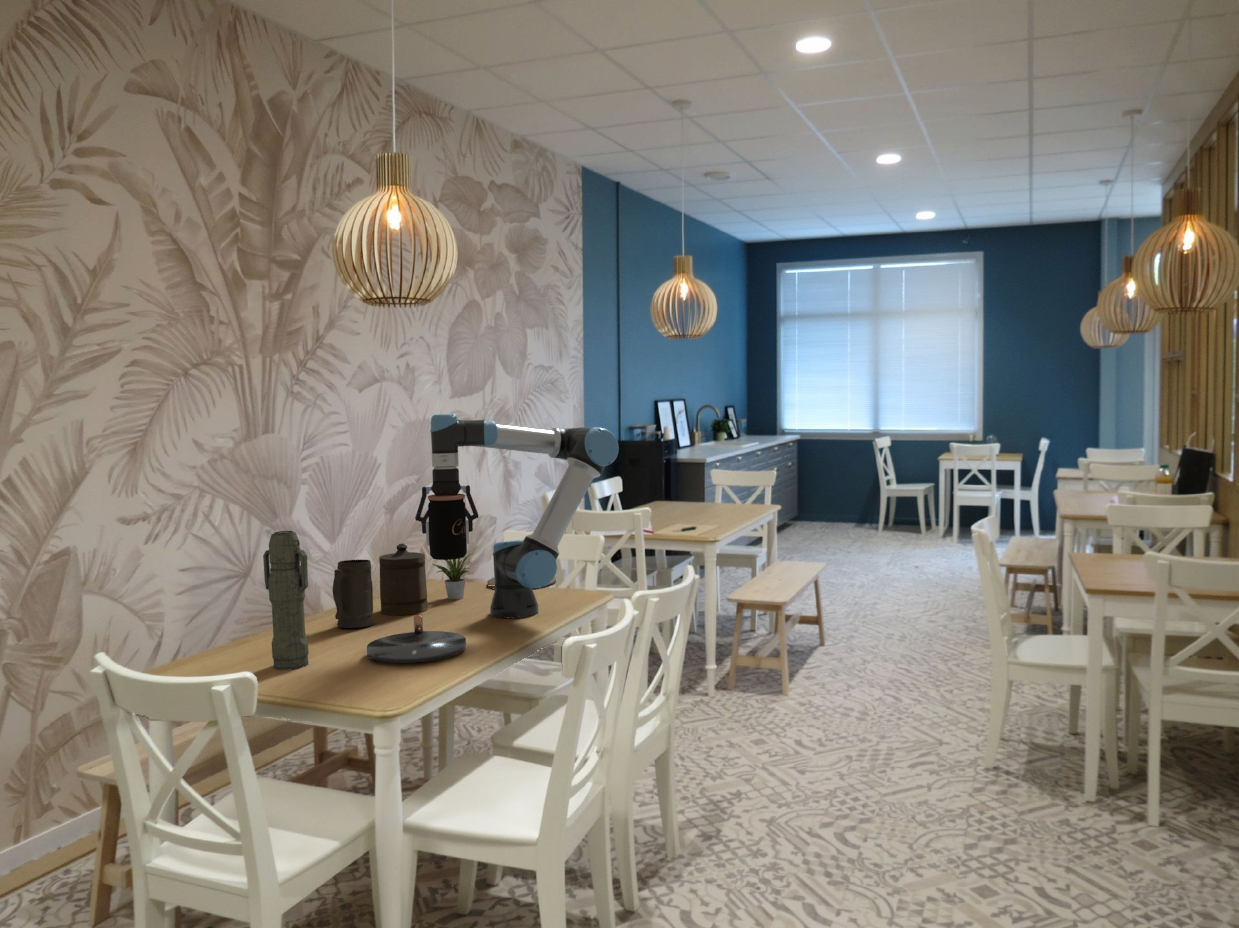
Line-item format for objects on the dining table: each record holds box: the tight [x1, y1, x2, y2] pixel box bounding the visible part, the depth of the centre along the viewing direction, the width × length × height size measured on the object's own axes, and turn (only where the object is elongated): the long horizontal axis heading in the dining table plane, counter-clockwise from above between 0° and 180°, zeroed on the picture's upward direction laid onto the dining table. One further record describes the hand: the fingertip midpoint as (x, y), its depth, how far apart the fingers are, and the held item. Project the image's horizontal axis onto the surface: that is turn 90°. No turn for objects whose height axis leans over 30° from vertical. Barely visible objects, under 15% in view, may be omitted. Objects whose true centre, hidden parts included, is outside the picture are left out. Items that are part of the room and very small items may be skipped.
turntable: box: [366, 613, 467, 664], centre depth 264 cm, size 26×26×7 cm
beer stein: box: [332, 559, 374, 629], centre depth 298 cm, size 15×11×20 cm
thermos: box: [262, 530, 309, 671], centre depth 255 cm, size 9×12×35 cm
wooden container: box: [378, 543, 428, 616], centre depth 319 cm, size 15×15×22 cm
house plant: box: [431, 552, 475, 601], centre depth 339 cm, size 14×14×16 cm
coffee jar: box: [427, 493, 468, 561], centre depth 284 cm, size 11×11×18 cm
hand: (448, 543), depth 285 cm, fingers closed on coffee jar, 11 cm apart
